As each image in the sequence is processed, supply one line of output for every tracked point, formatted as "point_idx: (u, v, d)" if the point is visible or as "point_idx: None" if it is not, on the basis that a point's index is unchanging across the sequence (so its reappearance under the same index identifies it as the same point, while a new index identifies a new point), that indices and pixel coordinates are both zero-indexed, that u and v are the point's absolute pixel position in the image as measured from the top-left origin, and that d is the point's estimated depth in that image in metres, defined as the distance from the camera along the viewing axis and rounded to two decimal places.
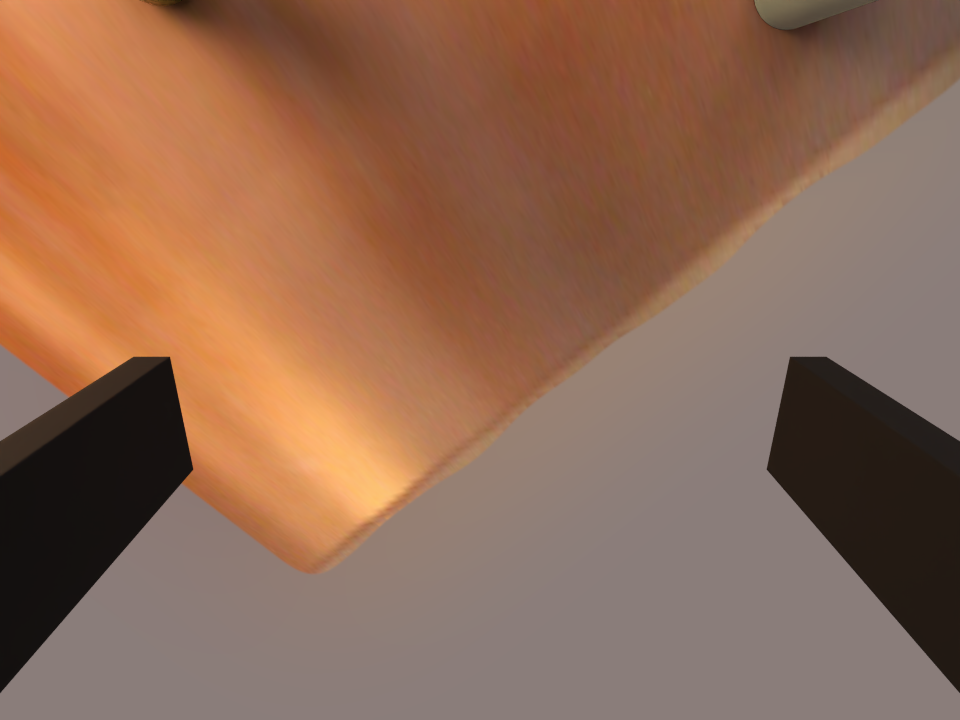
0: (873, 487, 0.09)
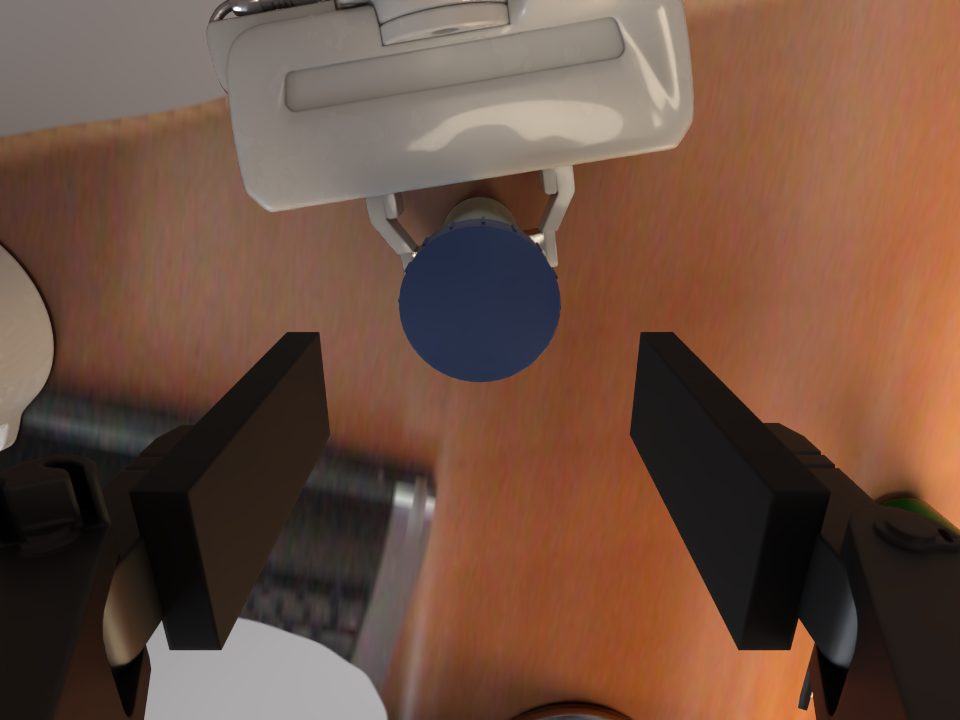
0: (677, 439, 0.11)
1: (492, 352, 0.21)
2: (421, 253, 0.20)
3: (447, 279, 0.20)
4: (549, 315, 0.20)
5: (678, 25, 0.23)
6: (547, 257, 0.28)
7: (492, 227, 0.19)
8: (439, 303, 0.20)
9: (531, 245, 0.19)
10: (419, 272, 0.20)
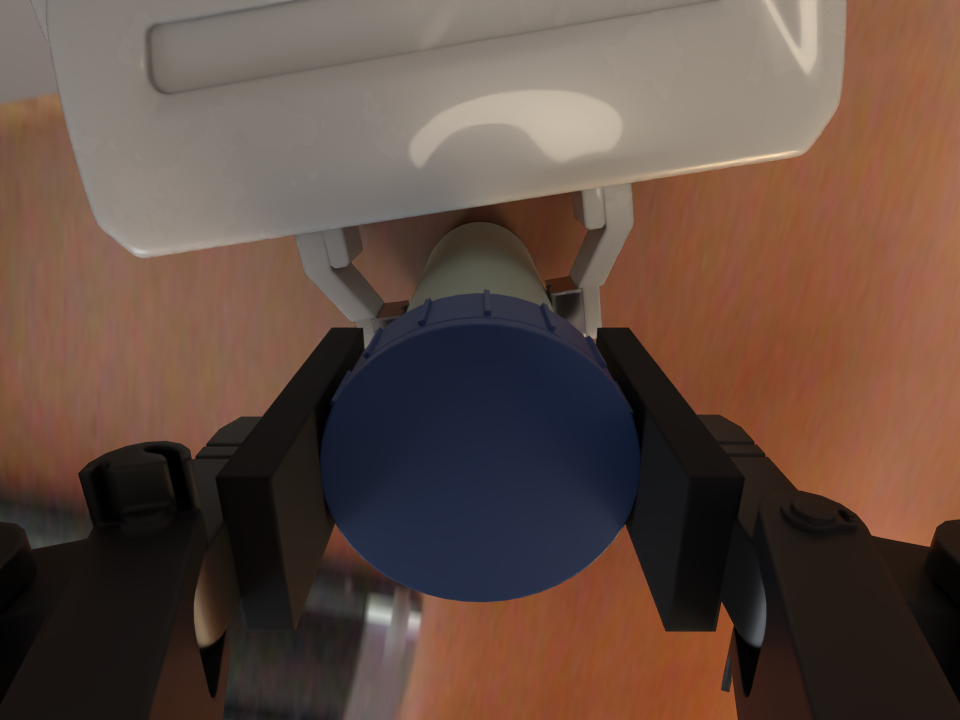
0: None
1: (505, 553, 0.11)
2: (359, 377, 0.09)
3: (414, 425, 0.10)
4: (618, 490, 0.10)
5: None
6: (586, 325, 0.18)
7: (506, 325, 0.09)
8: (399, 469, 0.10)
9: (587, 361, 0.09)
10: (357, 412, 0.10)
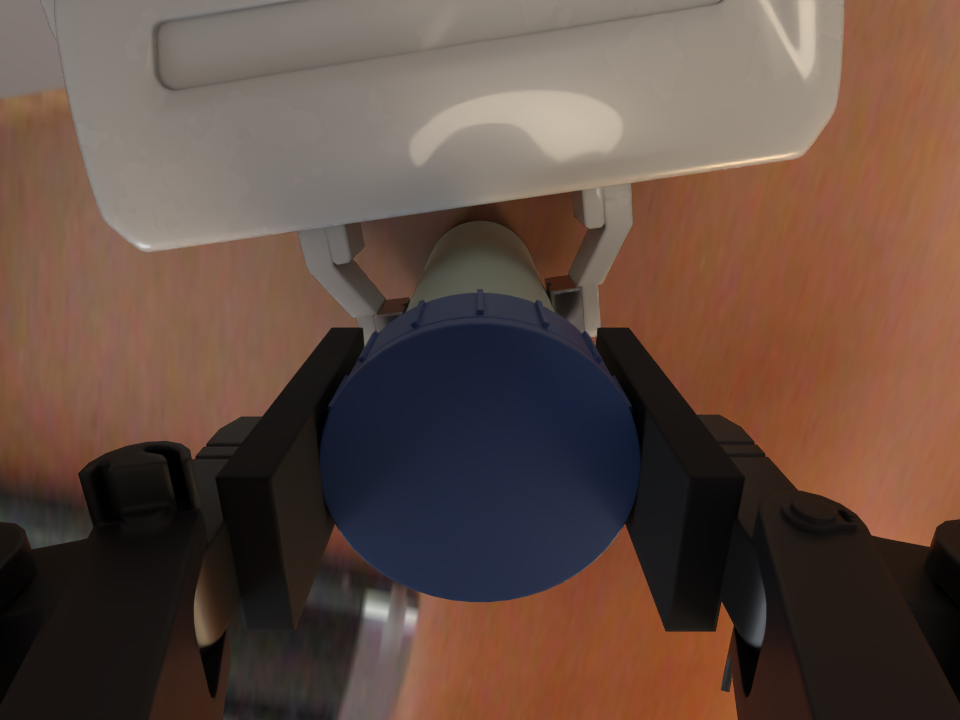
0: None
1: (527, 398, 0.10)
2: (487, 600, 0.11)
3: (486, 547, 0.11)
4: (380, 380, 0.09)
5: None
6: (585, 324, 0.18)
7: (363, 556, 0.11)
8: (530, 528, 0.10)
9: (325, 498, 0.10)
10: (515, 582, 0.11)
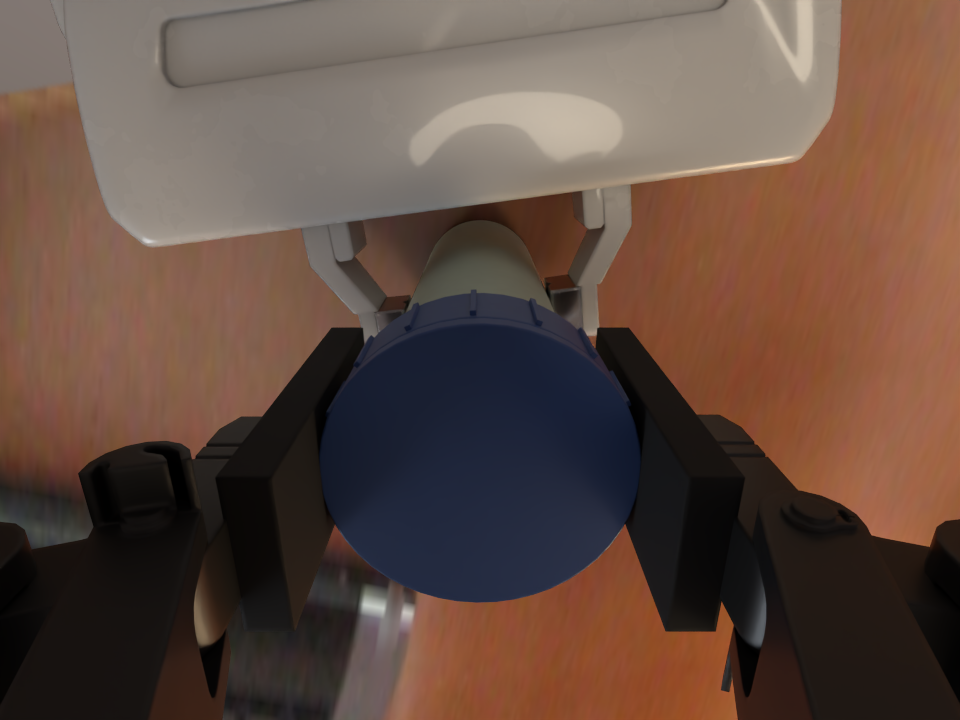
0: None
1: (390, 506, 0.10)
2: (588, 365, 0.09)
3: (535, 416, 0.10)
4: (477, 588, 0.11)
5: None
6: (583, 323, 0.18)
7: None
8: (483, 404, 0.10)
9: (605, 549, 0.11)
10: (547, 362, 0.09)
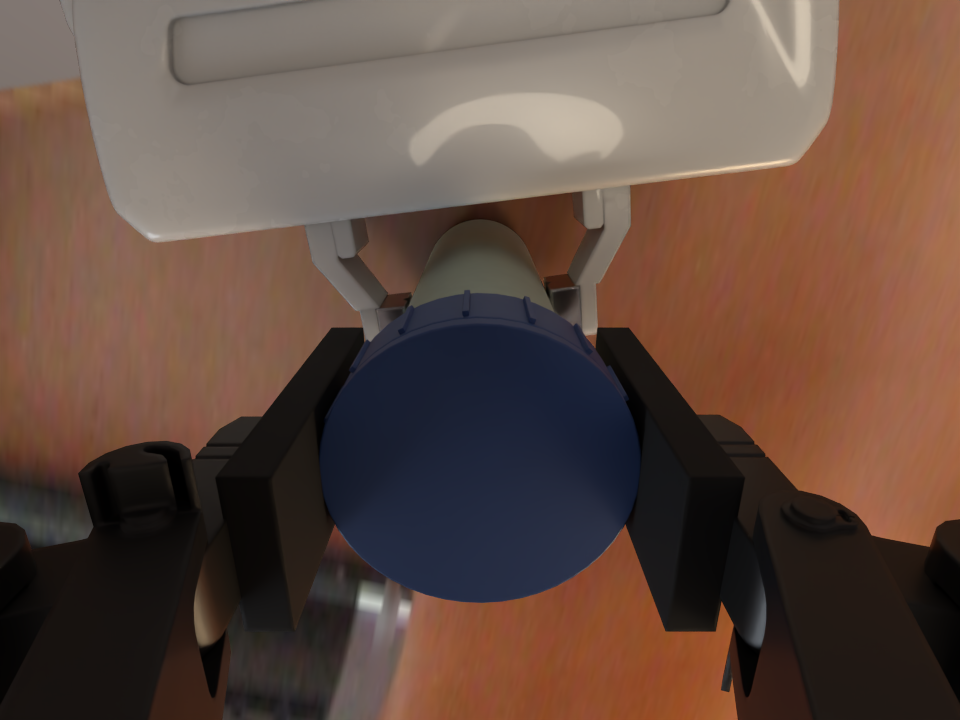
0: None
1: (568, 509, 0.10)
2: (326, 496, 0.10)
3: (395, 490, 0.10)
4: (584, 385, 0.09)
5: None
6: (582, 321, 0.18)
7: (361, 369, 0.09)
8: (424, 525, 0.10)
9: (438, 330, 0.09)
10: (354, 518, 0.10)
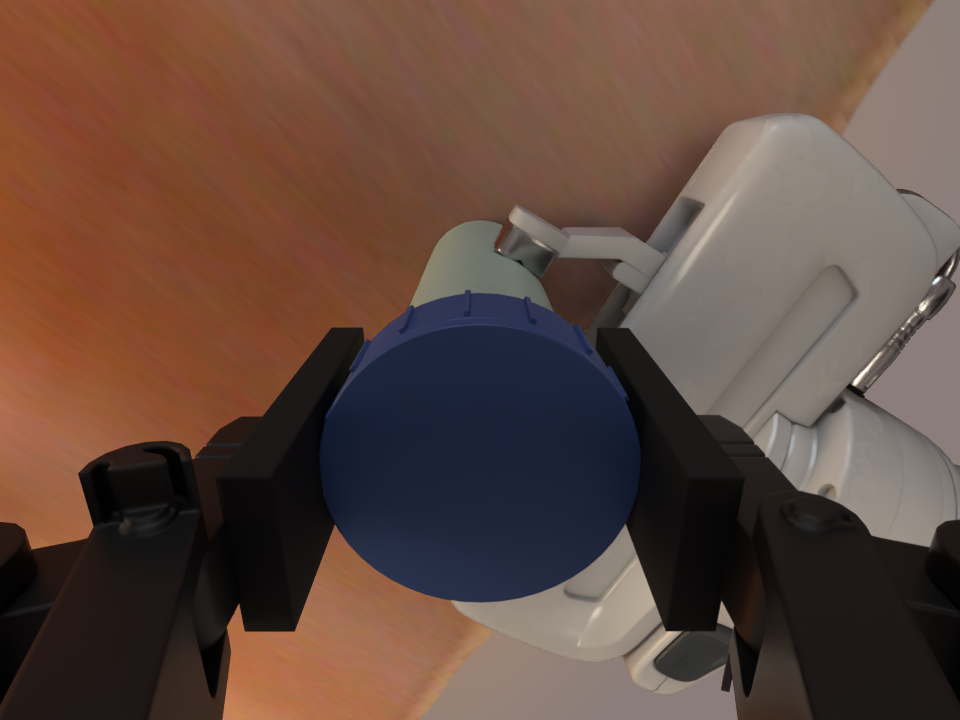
0: None
1: (568, 509, 0.10)
2: (326, 496, 0.10)
3: (395, 489, 0.10)
4: (584, 385, 0.09)
5: (548, 648, 0.22)
6: None
7: (361, 368, 0.09)
8: (424, 525, 0.10)
9: (438, 330, 0.09)
10: (354, 517, 0.10)
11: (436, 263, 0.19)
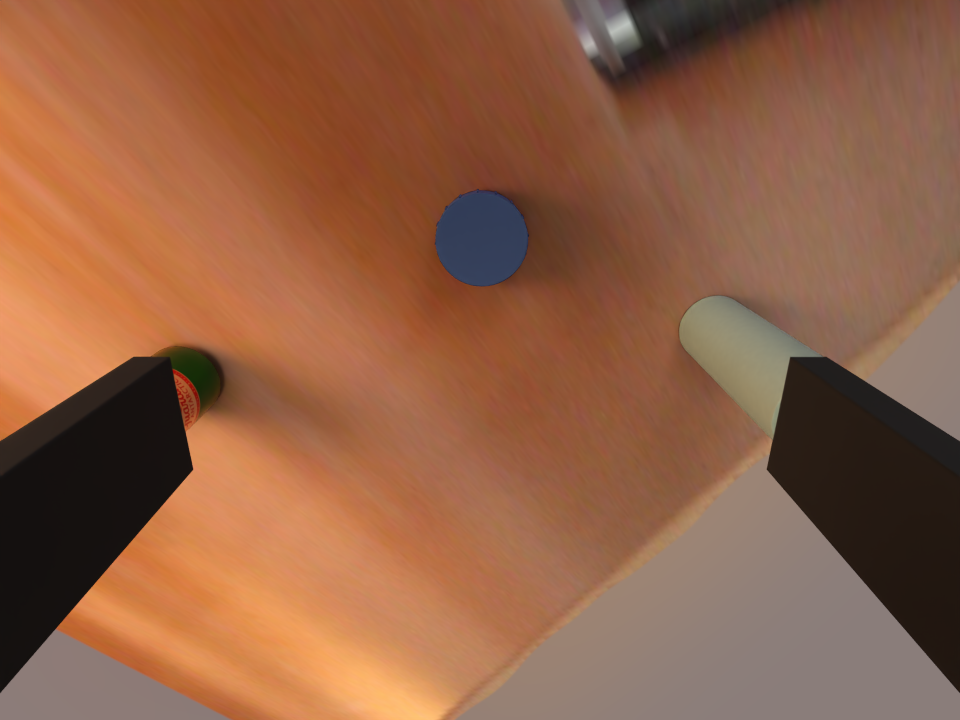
0: (873, 487, 0.09)
1: (507, 251, 0.35)
2: (437, 247, 0.35)
3: (457, 245, 0.35)
4: (510, 211, 0.35)
5: None
6: None
7: (449, 206, 0.35)
8: (465, 257, 0.36)
9: (470, 195, 0.34)
10: (445, 255, 0.36)
11: (744, 330, 0.32)
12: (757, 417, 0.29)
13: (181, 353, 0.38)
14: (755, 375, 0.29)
